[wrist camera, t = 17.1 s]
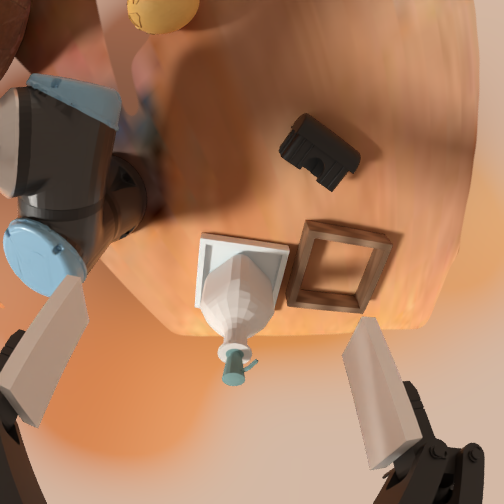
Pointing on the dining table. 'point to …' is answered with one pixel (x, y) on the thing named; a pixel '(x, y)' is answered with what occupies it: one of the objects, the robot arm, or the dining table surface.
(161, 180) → the dining table surface
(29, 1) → the pottery vessel
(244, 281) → the soap bottle
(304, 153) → the end cap
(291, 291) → the walnut holder
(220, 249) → the tray
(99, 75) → the dining table surface
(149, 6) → the stress ball
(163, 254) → the dining table surface
